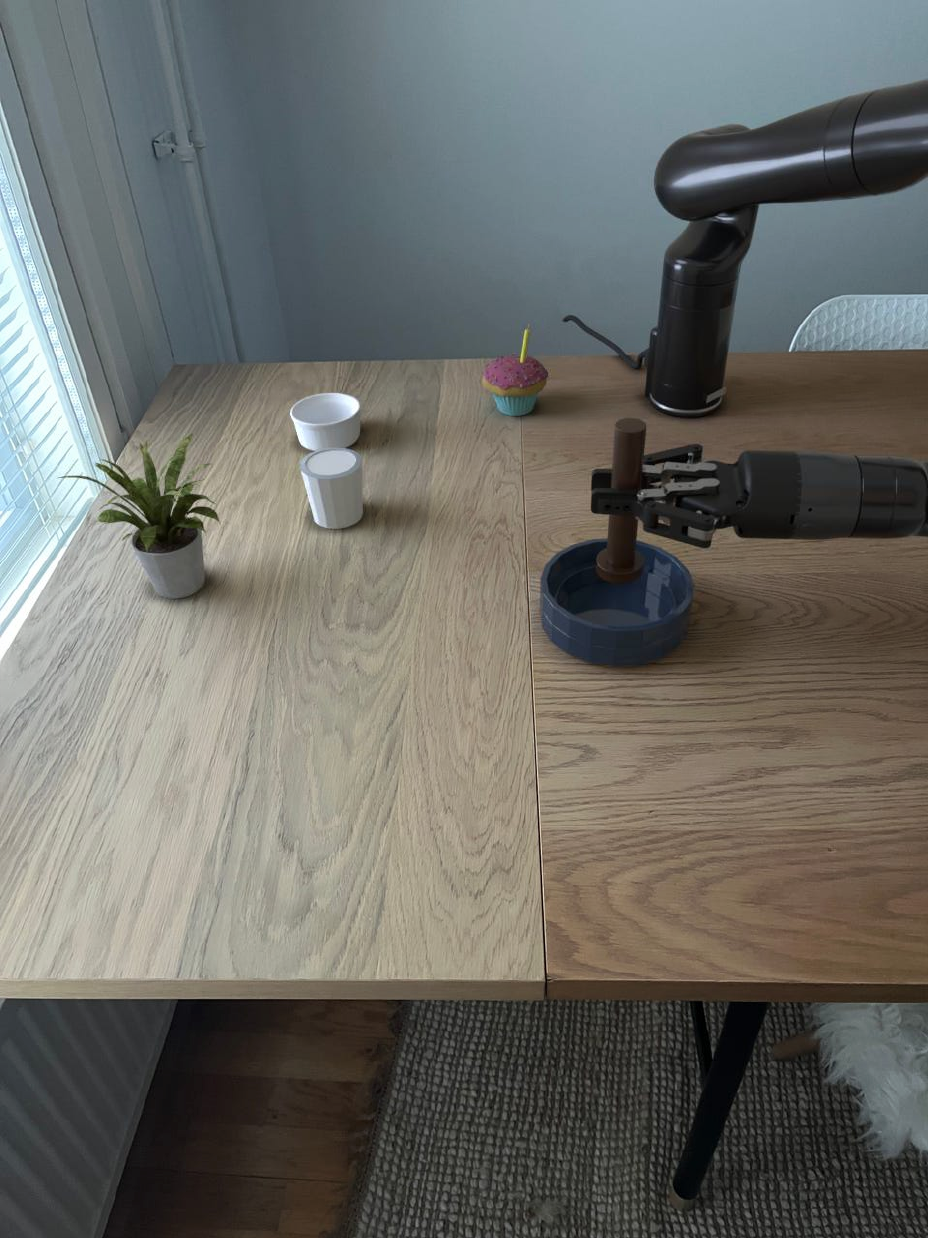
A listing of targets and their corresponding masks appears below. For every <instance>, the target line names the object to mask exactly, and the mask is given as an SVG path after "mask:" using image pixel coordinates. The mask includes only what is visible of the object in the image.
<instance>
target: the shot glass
mask: <svg viewBox="0 0 928 1238" xmlns="http://www.w3.org/2000/svg"><path fill="white" fill-rule="evenodd" d="M299 468H300V473H301V476H302V479H303V483H304V487H305V490H306V491H305V492H306V494H307V497H308V501H309V505H310V509H311V512H312V516H313V520H314V523H316V524H317V525H318V526H319V527H321V528H325V529H327V530H328V529H329V530H340V529H346V528H349V527H351V526H354V525H355V524H357V523H358V522H359V521H360V520H361V519H362V517H363V515H364V505H363V504H364V503H363V459H362V456H361V455H360V454H359V453H358V452H356V451H355V450H353V449H350V448H334V447H332V448H326V449H320V450H317V451H312V452H310V453H309V454H307V455H306V456H304V457H303V458H302V459H301V460H300V463H299Z"/></svg>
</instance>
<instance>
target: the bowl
mask: <svg viewBox="0 0 928 1238" xmlns="http://www.w3.org/2000/svg"><path fill="white" fill-rule="evenodd" d="M607 540H608V537H607V538H593V539H592V538H591V539H589V540H584V541H580V542H577V543H573V544H571V545H569V546H568V547H565V548H564V549H561V550H560V551H558V552H556V553H555V554H554V555H553V556H552V557H551V558H550V559H549V561H547V563H545V565H544V567H543V570H542V573H541V575H540V584H539V585H540V588H539V590H540V592H539V617H540V623H541V628H542V630H543V632H544V634H546V636H547V638H548V639H549V640H550V642H551V643H552V644H553V645H555V646H556V647H557V648H559V649H560V650H561V651H563V652H564V653H566V654H567V655H569V656H570V657H573V658H576V659H579V660H581V661H583V662H586V663H589V664H592V665H593V664H594V665H600V666H606V667H613V668H620V667H621V668H623V667H638V666H643V665H645V664H650V663H652V662H656V661H659V660H662V659H664V658H665V657H667V656H668V655H670V654H672V653H673V652H675V651H676V650H677V649H679V647H680V645H681V644H682V642H684V640H685V639H686V637H687V636H688V631H689V626H690V625H689V624H690V618H691V612H692V606H693V599H694V592H695V586H696V585H695V582H694V579H693V577H692V575H691V572H690V570H689V568H688V567H686V565H685V564H684V563H683V562H682V561H681V560H680V559H679V558H678V557H677V556H676V555H674V554H672V553H671V552H669V551H667V550H665V549H663V548H662V547H660V546H657V545H654V544H651V543H647V542H644V541H641V540H638V539H637V540H636V550H637V551H638V552H640V553H641V554H642V556H643V557H644V561H645V562H644V572H643V575H642V576H641V577H640V578H639V579H638V580H636V581H634V582H631V583H627V584H616V583H611V582H608V581H606V580H604V579H602V578H601V577H600V576H599V575H598V574H597V571H596V559H597V556H598V554H599V553H600V552H601V551H602V550H604V549H606V548H607Z"/></svg>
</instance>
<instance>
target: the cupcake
mask: <svg viewBox="0 0 928 1238" xmlns="http://www.w3.org/2000/svg"><path fill="white" fill-rule="evenodd" d="M527 325H528V326H527V328H525V330H524V334H523V339H522V340H523V341H522V348H521V353H520V354H508V355H505V354H504V355H501V356H498V357H496V358H495V359H493V360H492V361H490V362H489V363H487V365H485V366H484V367H485V368H484V370H483V372H482V373H483V375H482V386H483V388H484V389H485V390H486V391H488V392H490V393H491V394H492V396H493V398H494V401H495V404H496V407H497V410H498V411H499V412H500V413H501V414H503V415H505V416H511V417H521V416H524V415H528V414H529V413H531V412H532V411H533V409H534V407H535V404H536V400H537V398H538V395H539V394H540V392H542V391H543V390H544V388H545V386H546V385H547V381H548V380H547V379H548V378H549V371H548V370H547V369H546V368H545V367H544V364H542V362H541V361H539V360H538V359H536V358H535V357H532V356H529V355H527V353H528V347H529V346H528V345H529V341H530V335H531V329H530V328H531V323H528V324H527Z"/></svg>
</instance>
